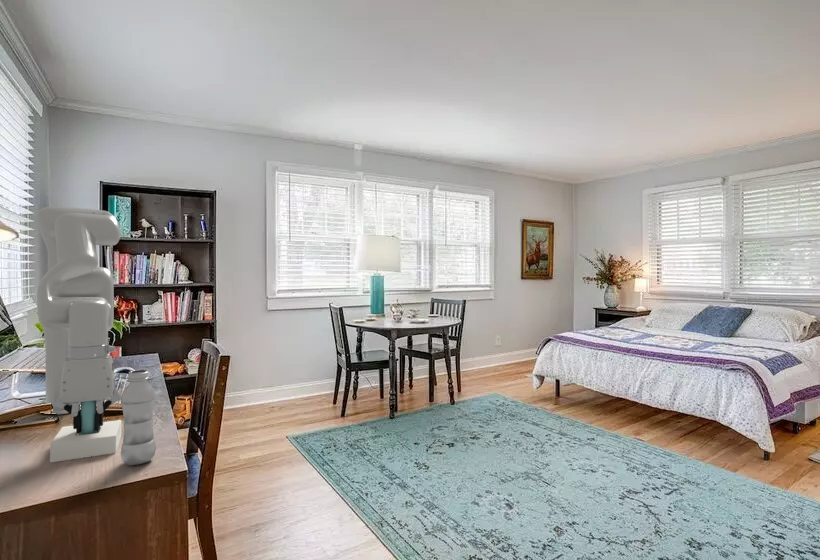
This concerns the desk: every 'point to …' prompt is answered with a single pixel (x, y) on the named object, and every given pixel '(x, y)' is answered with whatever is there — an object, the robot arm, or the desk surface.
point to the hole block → (86, 442)
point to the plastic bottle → (138, 419)
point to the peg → (88, 417)
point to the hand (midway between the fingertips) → (88, 429)
